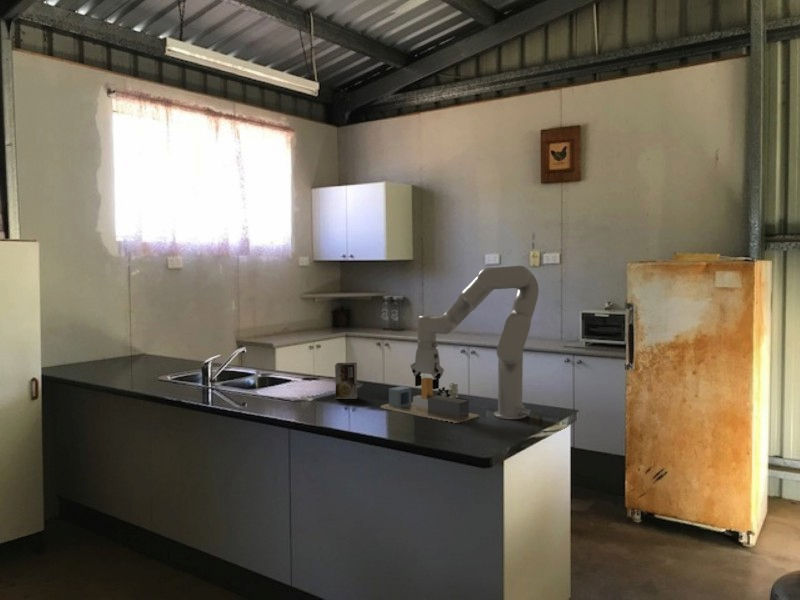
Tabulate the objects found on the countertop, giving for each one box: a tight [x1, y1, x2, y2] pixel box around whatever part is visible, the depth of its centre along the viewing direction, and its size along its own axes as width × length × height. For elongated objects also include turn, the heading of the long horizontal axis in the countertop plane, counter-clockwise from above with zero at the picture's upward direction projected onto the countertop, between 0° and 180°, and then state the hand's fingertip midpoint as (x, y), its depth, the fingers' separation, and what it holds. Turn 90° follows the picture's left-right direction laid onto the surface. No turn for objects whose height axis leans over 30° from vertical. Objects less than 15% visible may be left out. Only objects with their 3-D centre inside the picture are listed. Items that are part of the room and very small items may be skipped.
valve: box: [436, 382, 459, 399], centre depth 287 cm, size 7×7×12 cm
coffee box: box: [334, 362, 358, 400], centre depth 290 cm, size 9×6×16 cm
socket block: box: [388, 385, 412, 407], centre depth 273 cm, size 6×8×7 cm
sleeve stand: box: [380, 394, 480, 424], centre depth 262 cm, size 41×14×7 cm, turn 47°
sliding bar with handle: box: [412, 377, 434, 409], centre depth 259 cm, size 23×4×12 cm, turn 47°
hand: (426, 387), depth 262 cm, fingers open, 9 cm apart
